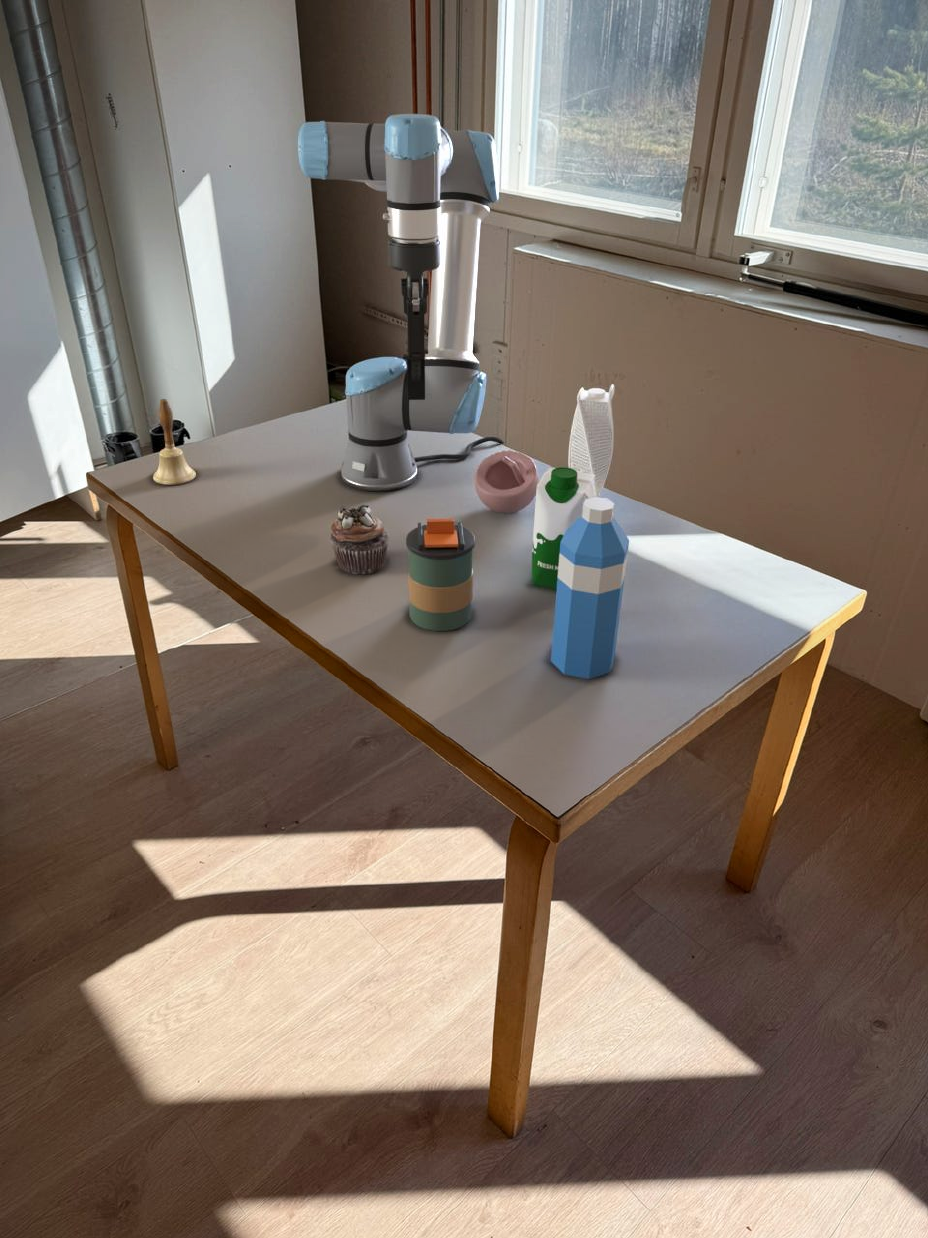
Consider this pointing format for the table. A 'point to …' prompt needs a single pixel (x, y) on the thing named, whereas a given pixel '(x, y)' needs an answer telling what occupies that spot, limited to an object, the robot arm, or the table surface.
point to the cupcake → (359, 541)
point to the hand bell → (171, 453)
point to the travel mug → (440, 591)
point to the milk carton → (556, 518)
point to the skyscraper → (592, 435)
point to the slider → (440, 533)
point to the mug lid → (417, 547)
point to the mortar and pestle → (506, 481)
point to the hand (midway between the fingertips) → (416, 397)
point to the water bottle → (589, 592)
